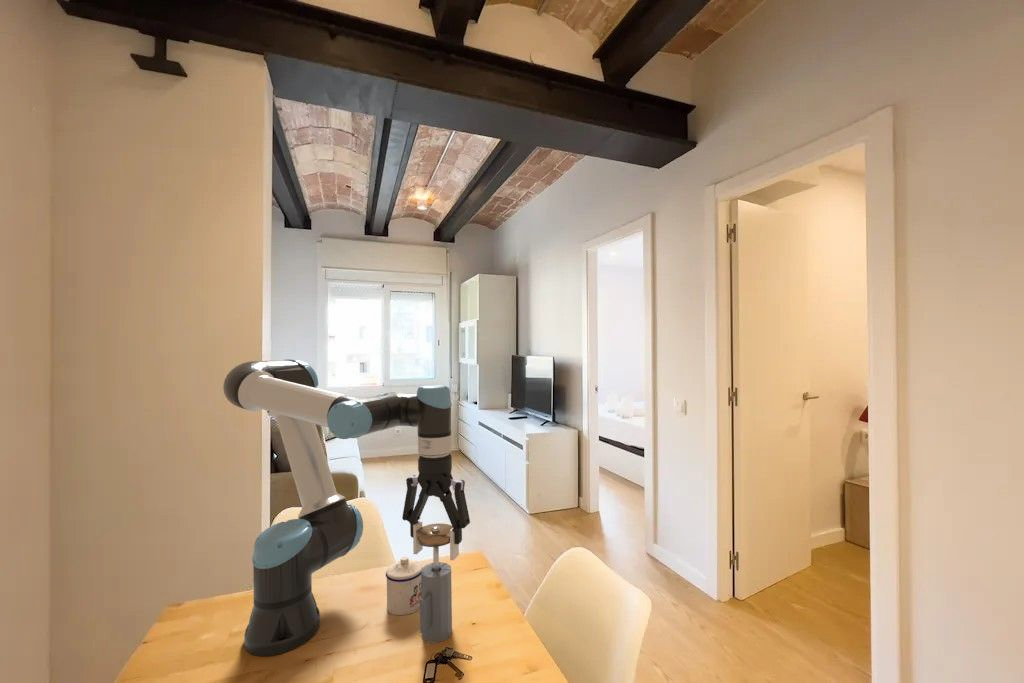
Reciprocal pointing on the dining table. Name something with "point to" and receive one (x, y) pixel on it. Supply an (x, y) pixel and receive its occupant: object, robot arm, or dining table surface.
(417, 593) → the teacup with lid
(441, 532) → the plunger
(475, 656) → the dining table surface
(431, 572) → the cylinder
